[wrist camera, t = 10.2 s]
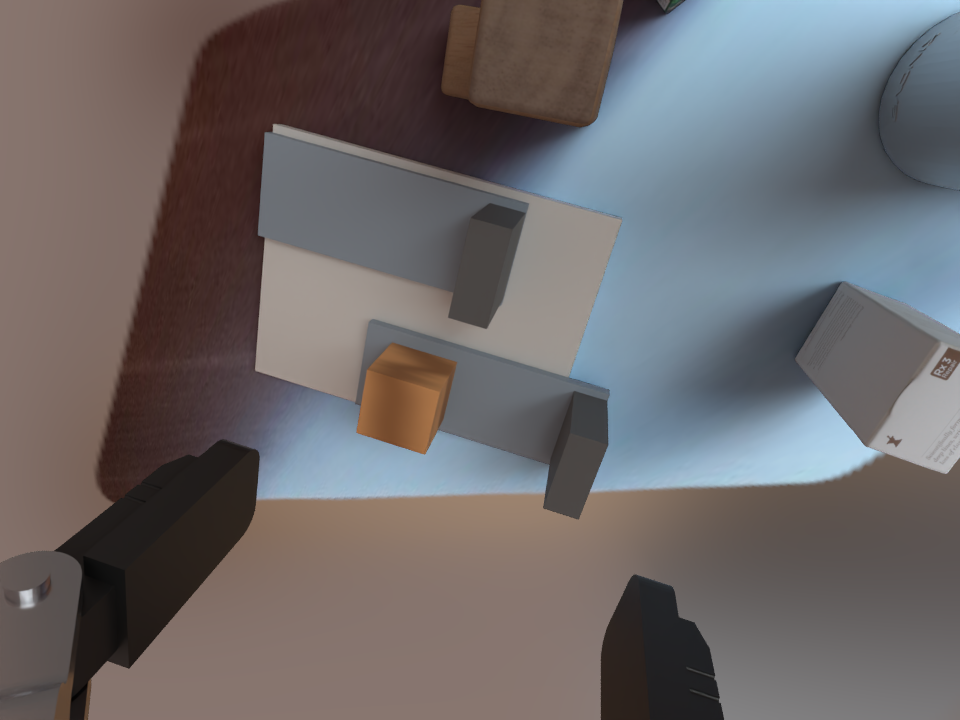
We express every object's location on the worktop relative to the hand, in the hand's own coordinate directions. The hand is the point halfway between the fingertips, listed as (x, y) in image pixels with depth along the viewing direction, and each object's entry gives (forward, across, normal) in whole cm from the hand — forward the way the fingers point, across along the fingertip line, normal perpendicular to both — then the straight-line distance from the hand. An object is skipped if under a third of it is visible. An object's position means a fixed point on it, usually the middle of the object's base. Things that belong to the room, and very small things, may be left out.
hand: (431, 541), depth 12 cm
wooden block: (+30, +4, -10) cm, 32 cm away
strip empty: (+29, +11, +1) cm, 31 cm away
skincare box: (+30, -20, 0) cm, 36 cm away
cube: (+28, +6, +12) cm, 31 cm away
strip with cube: (+29, +2, +12) cm, 31 cm away
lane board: (+30, +8, +6) cm, 32 cm away
